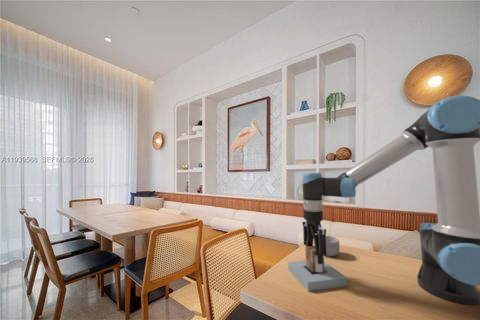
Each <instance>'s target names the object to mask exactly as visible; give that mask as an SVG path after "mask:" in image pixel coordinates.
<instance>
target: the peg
mask: <svg viewBox="0 0 480 320" xmlns="http://www.w3.org/2000/svg"><path fill="white" fill-rule="evenodd" d="M315 254H316V249H315V245H313V246H307V247H306V246H305V261H306V267H307V268H309V269H310V270H311V271H312V272H311V273H317V272H316V271H315ZM324 256H325V255H323V264H322V265H323V271H324V262H325V260H324V259H325V257H324Z"/></svg>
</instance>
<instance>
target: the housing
mask: <svg viewBox="0 0 480 320" xmlns="http://www.w3.org/2000/svg"><path fill="white" fill-rule="evenodd" d="M287 267H288V268H287V269H288V271H289V272H290V273H291V275H292V276H294V278H295V279H297V281H298V282H299V283H300V284H301V285H302V286H303V288H305V289H306V290H307V292H312V291H318V290H319V291H320V290H325V289H326V290H327V289H334V288H339V287H340V288H342V287H347V286H348V277H347V276H345V274H342V273H341V272H340V271H338V270H337V269H336V268H335V267H333V266H332V265H330V264H328V263H327V262H326V261H324V271H323V272H318V273H315V274H314V273H313V272H312V271H311V270H310V269H309V268H307V267H306V260H299V261H298V260H297V261H289V262H287ZM312 273H313V274H312Z"/></svg>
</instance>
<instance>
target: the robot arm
mask: <svg viewBox="0 0 480 320" xmlns="http://www.w3.org/2000/svg"><path fill="white" fill-rule="evenodd" d="M479 142H480V99H478V98H476V97H473V96H470V95H461V94H460V95H453V96H448V97H445V98H443V99H441V100H439V101H437V102H435V103H433V104H432V105H431V106H430V108H429V109H428V110H426V111H425V112H424V113H423V114H421V115H420V117H419V118H417V119H416V121H415V122H413V123H412V124H411V125H409V127H407V128H406V129H404V130H402V132H401V135H399V136H397V137H396V139H395V138H394V140H392V141H390V142H389V143H387V144H386V145H385V146H383V147H381V148H380V149H378V150H377V151H375V152H374V153H372V154H371V155H369V156H367V157H366V158H364V159H362V160H361V161H359V162H358V163H357V164H355V165H353V166H352V167H351V168H349V169H347V170H346V171H345V172H343V173H341V174H340V175H338V176H337V177H324V176H322V173H321V172H305V173H303V175H302V183H301V185H302V206H303V219H304V220H305V221H302V231H303V246H305V247H307V246H315V249H316V254H315V271H316V272H315V273H319V272H323V265H322V264H323V255H324V256H325V255H326V236H327V229H326V228H323V227H322V224H321V222H322V221H323V220H324V214H323V213H324V211H323V207H324V206H323V197H336V198H355V197H356V196H357V195H356V194H357V193H356V191H357V189H356V188H357V187H358V186H359V185H361V184H363V183H364V182H366V181H368V180H370V179H371V178H373V177H375V176H376V175H378V174H380V173H381V172H383V171H384V170H386V169H387V168H390V167H391V166H393V165H395V164H396V163H398V162H400V161H401V160H403V159H406V157H407V156H409V155H412V153H415V152H416V151H423V150H425V149H427V148H428V147H429V148H431V149H432V160H433V175H434V187H435V199H436V200H435V202H436V213H437V214H436V216H437V223H434V222H421V223H420V224H419V229H418V232H419V235H420V236H419V239H420V249H421V250H420V251H421V265H420V268H419V270H418V273H417V276H416V277H417V279H416V281H417V282H416V283H417V284H418V286H419V287H420V288H422V289H423V290H425V291H426V292H428V293H430V294H431V295H434V296H436V297H439V298H441V299H444V300H447V301H450V302H455V303H457V304H458V303H459V304H462V305H463V304H464V305H479V304H480V291H479V289H478V288H477V286H478V287H479V286H480V204H479V192H478V184H477V183H478V181H477V172H476V171H477V170H476V159H475V149H474V147H475V145H476V144H478V143H479Z"/></svg>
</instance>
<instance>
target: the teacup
mask: <svg viewBox="0 0 480 320" xmlns="http://www.w3.org/2000/svg"><path fill="white" fill-rule="evenodd" d="M340 247H341V246H340V239H339V238H338V237H336V236H333V235H326V255H324V256H325V257H335V256H337V255H338V254H339V253H340Z"/></svg>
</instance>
